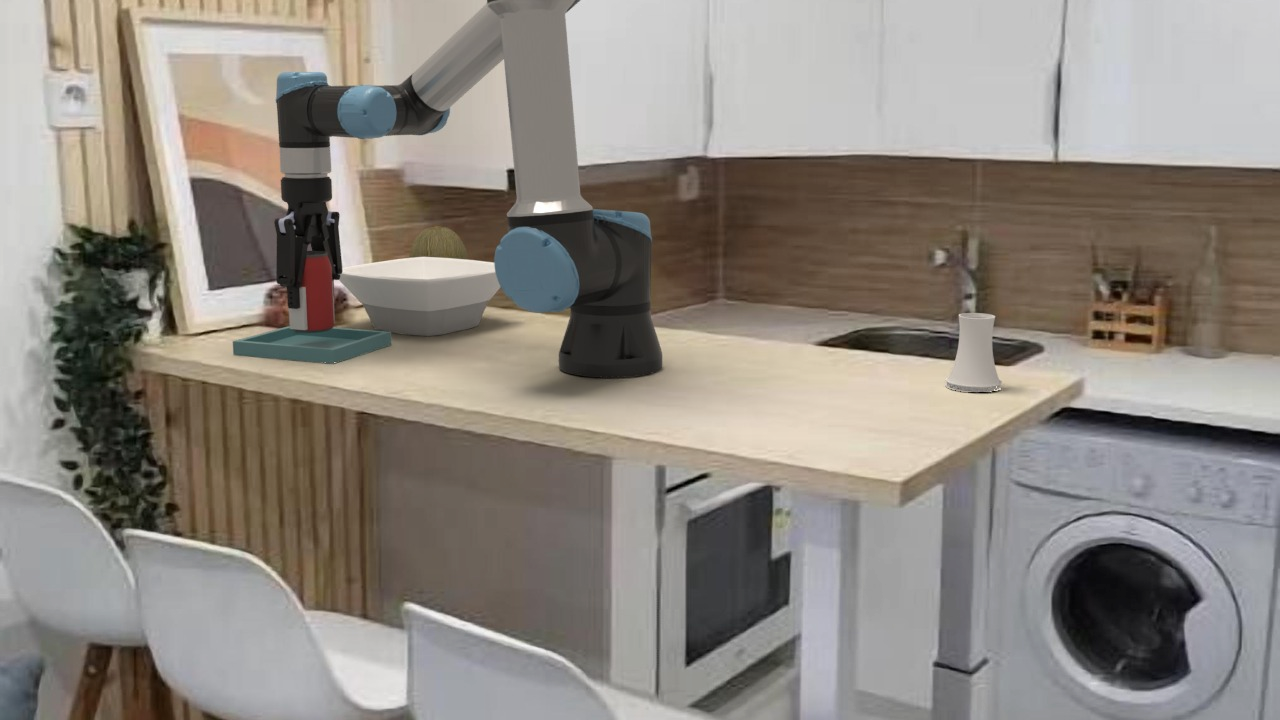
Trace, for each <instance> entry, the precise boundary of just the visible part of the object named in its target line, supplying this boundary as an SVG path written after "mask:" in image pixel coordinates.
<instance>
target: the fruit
mask: <svg viewBox="0 0 1280 720" xmlns="http://www.w3.org/2000/svg"><path fill="white" fill-rule="evenodd" d="M408 256H409V257H408V258H414V257H438V258H453V259H465V260H470V258H469V254H468V252H467V249H466V246H465V244H464V243H463V240H462V239H461V238H460V236H459V234H457V233H456V232H455V231H454V230H453V229H451V228H449V227H446V226H440V225H435V226H434V227H433V226H431V227H427V228H425V229H423V230H422V231H421V232H420V233H419V234H417V236H416V237H415V239H414V241H413V242H412V245H411V248H410V251H409V255H408Z"/></svg>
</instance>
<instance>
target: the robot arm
mask: <svg viewBox="0 0 1280 720" xmlns="http://www.w3.org/2000/svg"><path fill="white" fill-rule="evenodd" d="M580 2H581V0H486V3H485V4H484V5H483V6H482V7H481V8H480V9H479V10H478V11H477V12H476V13H475V14H474V15H473V16H471V17H470V18H469V19H468V20H467V21H466V22H465V23H464V24H463V25H462V26H461V27H460V28H459V29H458V30H457V31H456V32H454V34H453V35H452V36H451V37H450V38H449V39H447V41H445V42H444V43H443V44H442V45H441V46H440V47H439V48H438V49H437V50H436V51H435V52H434V53H433V54H432V55H431V56H430V57H428V59H427V60H425V61H424V62H423V63H422V64H421V65H420V66H419V67H418V68H417V69H416V70H415V71H413V72H412V73H411V74H410V75H409V76H408V77H407V78H406V79H405V80H403V82H401V83H400V84H396V85H394V84H393V85H389V84H388V85H386V84H385V85H373V84H371V85H370V84H364V85H363V84H359V85H358V84H357V85H329V83H328V76H327V74H326V73H325V72H321V71H283V72H280V73H279V74H278V75H277V78H276V97H275V104H276V111H277V112H276V113H277V114H276V115H277V131H278V147H279V162H280V163H279V164H280V165H279V167H280V168H279V169H280V173H281V174H284V176H282V177H281V179H280V193H281V196H280V197H281V198H280V199H281V200H282V202H285V203H287V211H286V216H285V217H283V218H281V217H280V218H275V219H274V220H273V221H274V228H275V233H276V273H275V274H276V276H275V277H276V283H277V284H278V285H279V286H280V287H282V288H283V287H285V288H286V295H287V296H286V297H287V299H286V301H287V308H288V316H289V317H288V319H289V326H290V329H297V330H307V329H308V327H307V305H306V287H301V286H302V280H303V274H304V267H305V261H306V254H307V251H308V246H309V245H310V247H311V251H325V252H327V253H328V255H327V256H328V258H329V261H330V263H331V267H332V288H333V313H334V314H335V283H334V282H335V281H339V279H340V274H341V273H342V268H343V261H342V252H341V251H342V250H341V241H340V229H339V224H340V217H341V216H340V213H339V211H331V210H329V209H328V207H327V203H328V202H330V201H331V200H332V199H333V188H332V187H333V186H332V183H333V182H332V178H330V176H328V174H330V173H331V172H332V156H331V138H332V137H337V138H350V139H351V138H354V139H359V140H366V139H368V140H369V139H370V140H371V139H380V138H383V137H391V136H425V135H427V134H435V133H437V132H439V131H441V130H442V129H443V128H444V127H445V126H446V124H447V121H448V118H449V117H450V113H451V107H452V106H453V105H454V104H456V102H458V101H459V100H460V99H461V98H462V97H464V95H466V94H467V93H468V92H469V91H470V90H472V89H473V88H474V86H475V85H477V84H478V83H479V82H480V81H482V79H483V78H484V77H485V76H487V75H488V74H489V73H490V72H491V71H492V70H493V69H495V67H497V66H498V65H499V64H500V63H501V62H503V61H504V64H503V65H504V72H505V73H504V74H505V83H506V84H505V85H506V94H507V97H506V98H507V106H508V107H507V108H508V116H509V117H508V118H509V128H510V129H509V130H510V137H511V138H510V139H511V140H510V141H511V147H512V148H511V149H512V161H513V170H514V182H515V183H514V184H515V193H516V200H515V202H514V204H513V206H512V207H511V208H510V209H509V210H508V211H507V213H506V217H507V218H506V221H507V230H508V231H507V232H508V233H506V234H504V235H503V236H502V238H501V239H500V243H499V244H498V245H497V246H496V249H495V253H494V258H493V260H494V262H493V263H494V266H495V273H496V276H497V279H498V282H499V284H500V286H501V287H500V288H501V290H502V291H503V293H504V294H505V296H506V297H507V298H509V299H510V300H511V301H512V302H513V303H514V304H515V305H516V306H518V307H519V308H521V309H523V310H525V311H528V312H531V313H539V314H540V313H541V314H543V313H560V312H563V311H565V310H567V309H570V314H569V319H568V323H567V325H566V329H565V332H564V336H563V339H562V342H561V345H560V348H559V351H558V368H559V370H560V371H562V372H564V373H567V374H570V375H575V376H579V377H580V376H581V377H588V378H589V377H590V378H608V379H609V378H631V377H639V376H646V375H650V374H653V373H657V372H659V371H660V370H662V369H663V350H662V348H661V344H660V341H659V338H658V335H657V332H656V329H655V326H654V322H653V320H652V314H651V313H652V311H651V293H652V292H651V289H652V288H651V286H652V283H651V282H652V276H651V275H652V243H653V238H652V237H653V236H652V233H651V222H650V221H651V220H650V218H649V217H648V215H646V214H645V213H642V212H636V211H626V210H624V211H622V210H611V209H601V208H600V209H596V208H594V207H593V206H592V205H591V204H590V203H589V202H588V201H587V200H585V199H584V198H583V196H582V194H581V187H580V186H581V185H580V173H579V163H578V161H579V160H578V151H577V141H576V140H577V139H576V137H577V136H576V128H575V116H574V104H573V91H572V81H571V69H570V68H571V67H570V58H569V57H570V56H569V44H568V43H569V42H568V35H567V34H568V33H567V22H566V21H567V20H566V13H568V12H569V11H570V10H571V9H572V8H574V7H575V6H576V5H577V4H579V3H580ZM335 319H336V318H335V315H334V323H335V322H336V321H335Z"/></svg>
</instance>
